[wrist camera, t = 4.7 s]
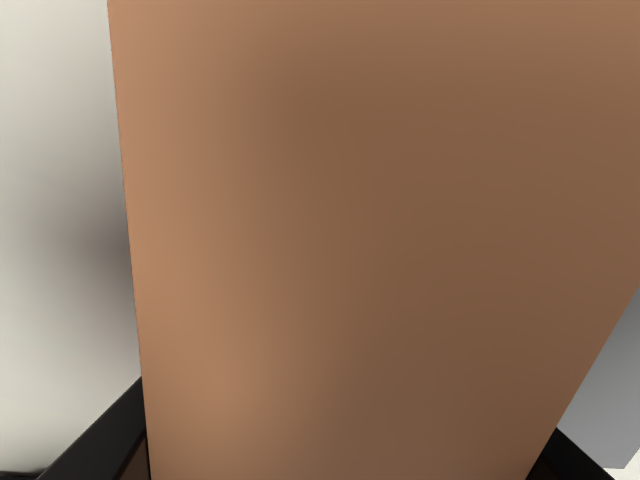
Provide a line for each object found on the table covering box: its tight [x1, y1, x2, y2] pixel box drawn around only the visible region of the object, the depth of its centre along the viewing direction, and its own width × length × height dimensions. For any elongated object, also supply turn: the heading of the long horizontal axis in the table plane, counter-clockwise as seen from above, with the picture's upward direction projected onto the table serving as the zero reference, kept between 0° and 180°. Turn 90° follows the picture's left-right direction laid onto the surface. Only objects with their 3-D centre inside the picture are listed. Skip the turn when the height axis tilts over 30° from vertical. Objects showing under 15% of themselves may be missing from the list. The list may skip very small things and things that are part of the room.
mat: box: [556, 285, 640, 469], centre depth 13 cm, size 21×18×1 cm
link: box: [107, 0, 640, 480], centre depth 9 cm, size 16×6×3 cm, turn 173°
